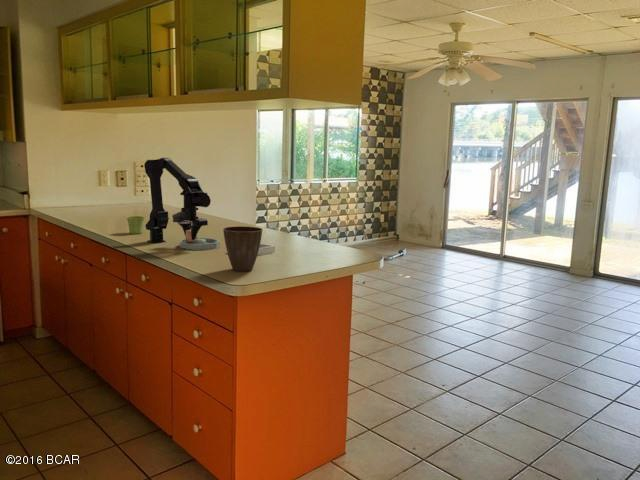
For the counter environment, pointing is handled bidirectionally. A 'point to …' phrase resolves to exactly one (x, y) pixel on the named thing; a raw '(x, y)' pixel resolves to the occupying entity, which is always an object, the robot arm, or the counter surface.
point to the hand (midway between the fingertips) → (190, 239)
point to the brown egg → (189, 236)
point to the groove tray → (200, 244)
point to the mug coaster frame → (266, 249)
